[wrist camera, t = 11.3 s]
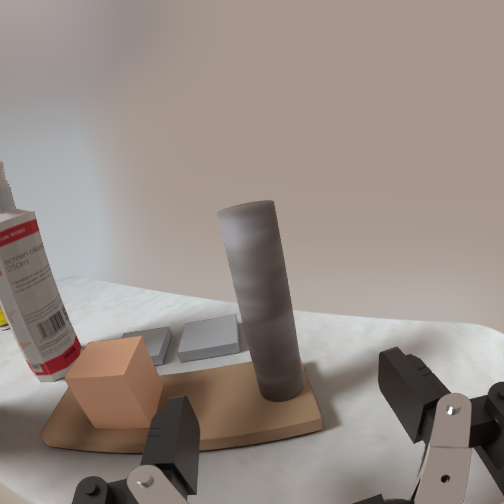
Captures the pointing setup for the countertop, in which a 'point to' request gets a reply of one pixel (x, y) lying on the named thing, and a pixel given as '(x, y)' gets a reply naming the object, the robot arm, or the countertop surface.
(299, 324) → the countertop surface
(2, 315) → the supplement bottle
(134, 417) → the terracotta block
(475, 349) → the countertop surface
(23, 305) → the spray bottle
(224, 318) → the broken strip
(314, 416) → the pull strip
